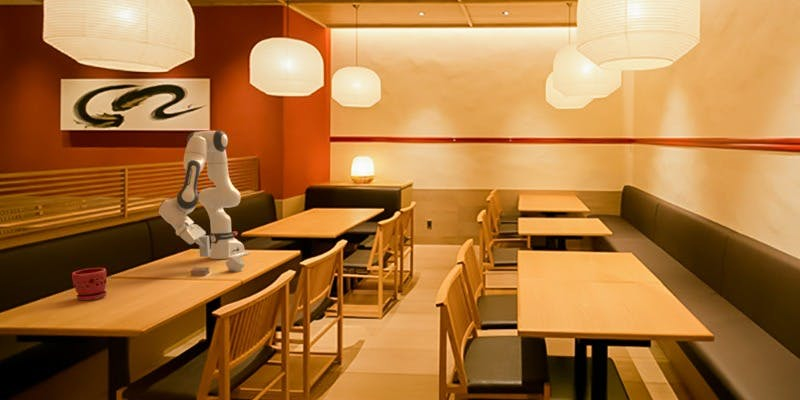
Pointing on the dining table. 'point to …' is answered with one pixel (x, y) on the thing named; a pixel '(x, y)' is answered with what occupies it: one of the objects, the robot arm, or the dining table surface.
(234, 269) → the die
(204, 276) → the mat
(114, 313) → the dining table surface
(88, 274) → the plant pot
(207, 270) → the base block
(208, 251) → the column
